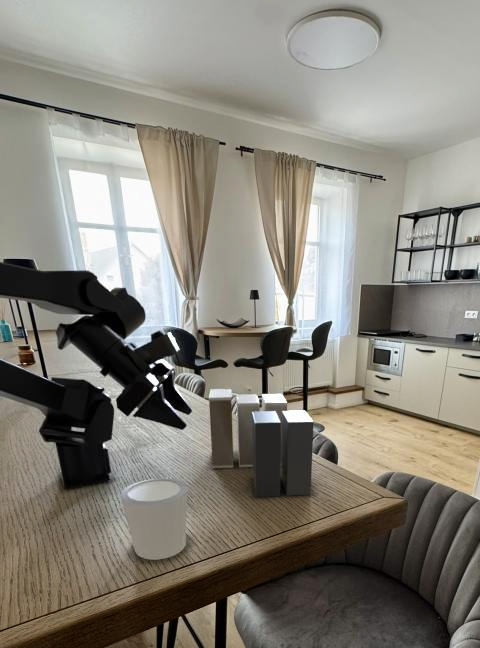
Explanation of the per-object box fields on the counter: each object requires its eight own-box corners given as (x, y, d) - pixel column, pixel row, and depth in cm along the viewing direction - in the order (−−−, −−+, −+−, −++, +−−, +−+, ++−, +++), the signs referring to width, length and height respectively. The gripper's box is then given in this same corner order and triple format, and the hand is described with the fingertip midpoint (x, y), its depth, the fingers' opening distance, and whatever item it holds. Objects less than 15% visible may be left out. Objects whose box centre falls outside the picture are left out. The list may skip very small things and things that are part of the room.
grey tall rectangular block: (239, 467, 70) (237, 403, 66) (238, 453, 76) (236, 394, 72) (260, 466, 70) (259, 403, 66) (256, 452, 76) (256, 394, 72)
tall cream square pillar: (212, 468, 69) (208, 397, 65) (213, 454, 76) (210, 389, 71) (233, 467, 69) (231, 397, 65) (233, 453, 76) (230, 388, 71)
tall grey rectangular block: (255, 497, 59) (255, 423, 55) (252, 479, 65) (251, 411, 61) (280, 496, 59) (280, 422, 55) (275, 478, 65) (275, 411, 61)
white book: (265, 466, 70) (265, 402, 66) (262, 452, 77) (261, 394, 73) (286, 465, 71) (287, 402, 67) (280, 452, 77) (281, 393, 73)
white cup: (202, 536, 49) (198, 482, 46) (169, 568, 43) (163, 508, 40) (153, 526, 51) (146, 474, 48) (115, 555, 45) (106, 498, 42)
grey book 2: (287, 495, 59) (288, 422, 55) (281, 478, 65) (282, 410, 61) (310, 494, 60) (313, 421, 56) (302, 477, 66) (305, 410, 62)
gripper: (129, 314, 53) (218, 397, 59) (154, 311, 71) (222, 375, 76) (76, 376, 55) (167, 451, 61) (113, 358, 73) (182, 418, 78)
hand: (187, 419), depth 69 cm, fingers open, 9 cm apart
